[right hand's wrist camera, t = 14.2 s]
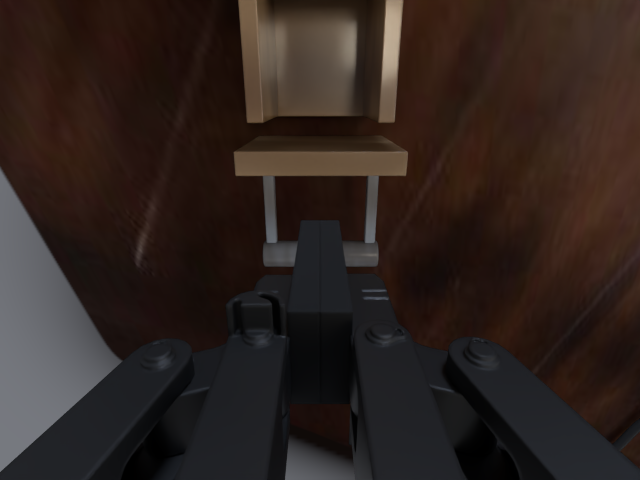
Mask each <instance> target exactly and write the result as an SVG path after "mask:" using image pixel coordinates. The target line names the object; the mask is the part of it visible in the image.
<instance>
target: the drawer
mask: <svg viewBox="0 0 640 480" xmlns="http://www.w3.org/2000/svg"><path fill="white" fill-rule="evenodd" d="M238 3H239V17H240V31H241V45H242V59H243V73H244V87H245V101H246V115H247V123H263V122H266V121H268V120H270V119H273V118H275V117H277V116H364V117H367V118H369V119H371V120H374V121H376V122H378V123H394V122H395V109H396V95H397V81H398V67H399V53H400V39H401V25H402V11H403V0H238ZM407 158H408V152H407V151H406V150H404V149H402V148H401V147H399V146H397V145H396V144H394V143H393V142H391V141H389V140H388V139H386V138H384V137H383V136H258V137H257V138H255V139H254V140H252V141H250V142H249V143H247V144H246V145H244V146H243V147H241V148H239V149H238V150H236V151H235V152H234V163H235V174H236V176H263V187H264V204H265V221H266V238H267V241H265V242H264V246H263V262H264V266H266V267H294V263H295V257H296V250H297V244H298V241H277V217H276V196H275V176H367V182H366V203H365V224H364V241H342V244H343V250H344V257H345V263H346V267H376V266H377V264H378V244H377V241H375V229H376V212H377V195H378V178H379V176H406V169H407Z"/></svg>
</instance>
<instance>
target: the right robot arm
mask: <svg viewBox="0 0 640 480" xmlns="http://www.w3.org/2000/svg"><path fill="white" fill-rule="evenodd" d="M226 314H227V323H228V332H229V337H228V340H227V343H226V344H223V345H221V346H219V347H216V348H212V349H208V350H204V351H199V352H194V353H192V349H191V346H190V345H189V344H188V343H187V342H185V341H183V340H180V339H168V338H166V339H161V340H156V341H153V342H150V343H148V344H145V345H143V346H141V347H140V348H138V349H137V350H136V351H134V352H133V353H131V354H130V355H129V356H128V357H127V358H126V359H125V360H124V361H123V362H121V363H120V364H119V365H118V366H117V367H116V368H115V369H114V370H113V371H112V372H110V373H109V374H108V375H107V376H106V377H105V378H104V379H103V380H102V381H101V382H99V383H98V384H97V385H96V386H95V387H94V388H93V389H92V390H91V391H89V392H88V393H87V394H86V395H85V396H84V397H83V398H82V399H81V400H79V401H78V402H77V403H76V404H75V405H74V406H73V407H72V408H71V409H70V410H69V411H67V412H66V413H65V414H64V415H63V416H62V417H61V418H60V419H58V420H57V421H56V422H55V423H54V424H53V425H52V426H51V427H50V428H49V429H47V430H46V431H45V432H44V433H43V434H42V435H41V436H40V437H39V438H37V439H36V440H35V441H34V442H33V443H32V444H31V445H30V446H29V447H28V448H26V449H25V450H24V451H23V452H22V453H21V454H20V455H19V456H18V457H17V458H15V459H14V460H13V461H12V462H11V463H10V464H9V465H8V466H7V467H5V468H4V469H3V470H2V471H1V472H0V480H285V473H286V461H287V450H288V439H289V428H290V409H289V405H290V402H291V404H349V402H350V403H351V409H350V433H349V445H352V450H353V461H354V472H355V480H640V469H639V468H638V467H637V466H636V465H635V464H633V463H632V462H631V461H630V460H629V459H628V458H627V457H626V456H624V455H623V454H622V453H621V452H620V451H621V450H622V449H623V448H624V447H625V446H626V445H627V444H628V443H629V442H630V441H631V440H632V439H633V438H634V437H635V436H636V435H637V434H638V433H639V432H640V418H639V419H638V420H637V421H636V422H634V423H633V424H632V425H631V426H630V427H629V428H628V429H627V430H626V431H625V432H624V433H623V434H622V435H621V436H620V437H619V438H618V439H617V440H616V441H615V442H614V443H613V444H611V443H610V442H609V441H608V440H607V439H606V438H604V437H603V436H602V435H601V434H600V433H599V432H598V431H597V430H596V429H594V428H593V427H592V426H591V425H590V424H589V423H588V422H587V421H585V420H584V419H583V418H582V417H581V416H580V415H579V414H578V413H577V412H575V411H574V410H573V409H572V408H571V407H570V406H569V405H568V404H567V403H565V402H564V401H563V400H562V399H561V398H560V397H559V396H558V395H557V394H555V393H554V392H553V391H552V390H551V389H550V388H549V387H548V386H546V385H545V384H544V383H543V382H542V381H541V380H540V379H539V378H538V377H536V376H535V375H534V374H533V373H532V372H531V371H530V370H529V369H528V368H526V367H525V366H524V365H523V364H522V363H521V362H520V361H519V360H518V359H516V358H515V357H514V356H513V355H512V354H511V353H510V352H509V351H507V350H506V349H504V348H503V347H501V346H500V345H499V344H496V343H494V342H492V341H489V340H487V339H483V338H477V337H462V338H459V339H456V340H454V341H453V342H452V343H451V344H450V345H449V349H448V351H444V350H439V349H434V348H430V347H426V346H423V345H420V344H418V343H416V342H413V339H412V337H411V335H410V334H409V332H408V331H407V329H405V328H404V327H402V326H401V325H399V324H398V322H397V319H396V316H395V313H394V310H393V307H392V304H391V301H390V300H389V296H388V293H387V290H386V287H385V284H384V281H382V280H381V279H380V278H379V277H378V276H376V275H375V274H347V270H346V263H345V257H344V250H343V244H342V237H341V231H340V224H339V220H301V224H300V231H299V237H298V244H297V250H296V257H295V263H294V270H293V275H265V276H264V277H263V278H261V279H260V280H259V281H258V282H257V283H256V286H255V289H254V291H248V292H245V293H242V294H238V295H237V296H235V297H233V298H231V299H230V300H229V301H228V303H227V304H226Z"/></svg>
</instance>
